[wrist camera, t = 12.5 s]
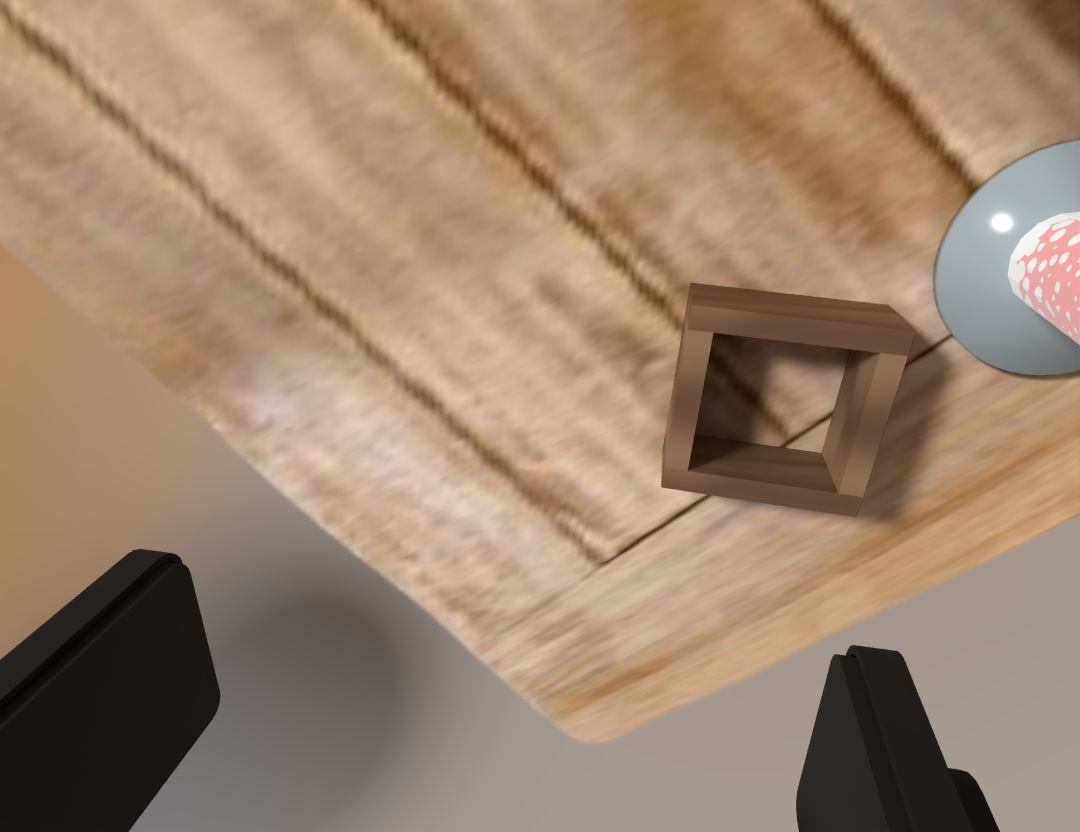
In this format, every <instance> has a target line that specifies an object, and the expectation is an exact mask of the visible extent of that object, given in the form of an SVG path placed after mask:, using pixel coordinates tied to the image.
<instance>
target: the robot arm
mask: <svg viewBox="0 0 1080 832" xmlns="http://www.w3.org/2000/svg"><path fill="white" fill-rule="evenodd" d="M219 703H220V690H219V686H218V682H217V678H216V674H215V670H214V666H213V662H212V658H211V654H210V650H209V646H208V642H207V638H206V633H205V629H204V625H203V621H202V617H201V613H200V609H199V605H198V601H197V597H196V593H195V589H194V585H193V581H192V577H191V574H190V571H189V568H188V567H187V566H186V565H183V563H182V560H181V558H180V557H178V555H176V554H173V553H166V552H159V551H152V550H144V549H138V550H133V551H132V552H130V553H129V554H127V555H126V556H125V557H123V558H122V559H121V560H120V561H119V562H118V563H116V564H115V565H114V566H113V567H111V568H110V569H109V570H108V571H107V572H105V573H104V574H103V575H102V576H101V577H99V578H98V579H97V580H96V581H95V582H93V583H92V584H91V585H90V586H89V587H87V588H86V589H85V590H84V591H83V592H81V593H80V594H79V595H78V596H77V597H75V598H74V599H73V600H72V601H71V602H69V603H68V604H67V605H66V606H64V607H63V608H62V609H61V610H60V611H58V613H56V614H55V615H54V616H53V617H51V618H50V619H49V620H48V621H46V622H45V623H44V624H43V625H42V626H40V627H39V628H38V629H37V630H36V631H34V632H33V633H32V634H31V635H30V636H29V637H27V638H26V639H25V640H24V641H22V643H20V644H19V645H18V646H16V647H15V648H14V649H13V650H12V651H11V652H9V653H8V654H7V655H6V656H4V657H3V658H2V659H1V660H0V832H129V830H130V829H131V827H132V826H133V825H134V824H135V822H136V821H137V820H138V818H139V817H140V816H141V814H142V813H143V812H144V810H145V809H146V808H147V806H148V805H149V803H150V802H151V801H152V799H153V798H154V797H155V795H156V794H157V793H158V791H159V790H160V789H161V787H162V786H163V785H164V783H165V782H166V781H167V779H168V778H169V777H170V775H171V774H172V773H173V771H174V770H175V769H176V767H177V766H178V765H179V763H180V762H181V761H182V759H183V758H184V757H185V755H186V754H187V752H188V751H189V750H190V749H191V747H192V746H193V744H194V743H195V742H196V741H197V739H198V738H199V737H200V735H201V734H202V732H203V731H204V730H205V728H206V727H207V726H208V724H209V723H210V722H211V721H212V719H213V717H214V716H215V714H216V712H217V709H218V706H219ZM796 812H797V822H798V828H799V832H1000V831H999V829H998V826H997V824H996V822H995V820H994V817H993V815H992V813H991V811H990V808H989V806H988V804H987V801H986V799H985V797H984V794H983V792H982V791H981V789H980V787H979V785H978V783H977V782H976V780H975V779H974V778H973V777H972V776H971V775H970V774H969V773H968V772H966V771H962V770H957V769H951V768H948V767H947V765H946V762H945V760H944V757H943V755H942V752H941V750H940V747H939V745H938V742H937V740H936V737H935V735H934V732H933V730H932V727H931V725H930V723H929V720H928V717H927V715H926V712H925V710H924V707H923V705H922V702H921V700H920V697H919V695H918V692H917V690H916V687H915V685H914V682H913V680H912V678H911V675H910V672H909V670H908V667H907V665H906V662H905V660H904V658H903V657H902V655H901V654H900V653H899V652H898V651H892V650H886V649H877V648H870V647H863V646H856V645H853V646H850V647H849V649H848V651H847V653H846V656H845V655H837V654H835V655H834V656H833V657H832V660H831V663H830V667H829V671H828V674H827V678H826V683H825V686H824V690H823V694H822V698H821V701H820V705H819V709H818V713H817V717H816V721H815V725H814V728H813V732H812V736H811V740H810V744H809V748H808V751H807V755H806V759H805V763H804V767H803V771H802V775H801V779H800V782H799V786H798V791H797V800H796Z"/></svg>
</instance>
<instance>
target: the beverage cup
mask: <svg viewBox="0 0 1080 832" xmlns="http://www.w3.org/2000/svg"><path fill="white" fill-rule="evenodd" d="M1008 278H1009V281H1010V284H1011V287H1012V290H1013V292H1014V293H1015V294H1016V295H1017V296H1018V297H1019V298H1020V299H1021V300H1022V301H1023V302H1024V303H1025V304H1027V305H1028V306H1029V307H1030V308H1032V309H1033V310H1034V311H1036V312H1037V313H1038V314H1040V315H1041V316H1042V317H1044V318H1045V319H1046V320H1048V321H1049V322H1050V323H1051V324H1053V325H1054V326H1055V327H1057V328H1058V329H1059V330H1061V331H1062V332H1063V333H1065V334H1066V335H1067V336H1068V337H1070V338H1071V339H1072V340H1074V341H1075V342H1076V343H1078V344H1079V345H1080V212H1075V213H1064V214H1059V215H1057V216H1054V217H1052V218H1050V219H1048V220H1045V221H1043V222H1041V223H1039V224H1038V225H1036V226H1035V227H1034V228H1033V229H1032V230H1031V231H1029V232H1028V233H1027V234H1026V235H1025V236H1024V237H1023V238H1021V240H1020V242H1019V243H1018V245H1017V247H1016V248H1015V250H1014V252H1013V254H1012V255H1011V257H1010V264H1009V271H1008Z"/></svg>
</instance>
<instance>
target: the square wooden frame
mask: <svg viewBox="0 0 1080 832" xmlns="http://www.w3.org/2000/svg"><path fill="white" fill-rule="evenodd" d="M915 332H916V331H915V330H914V329H913V328H912V327H911V326H910V325H908V324H907V323H906V322H905V321H904V320H903V319H902V318H901V317H900V316H899V315H898V314H897V313H896V312H895V311H894V310H893V309H892V308H891V307H890V306H889V305H882V304H873V303H864V302H855V301H847V300H838V299H829V298H820V297H811V296H802V295H793V294H785V293H776V292H767V291H758V290H749V289H740V288H731V287H722V286H714V285H705V284H696V283H690V289H689V295H688V301H687V307H686V313H685V319H684V325H683V331H682V337H681V343H680V349H679V355H678V361H677V367H676V373H675V379H674V385H673V391H672V397H671V403H670V409H669V415H668V421H667V427H666V433H665V439H664V445H663V457H662V481H661V487H663V488H669V489H676V490H682V491H689V492H695V493H702V494H708V495H715V496H722V497H728V498H735V499H741V500H748V501H754V502H761V503H767V504H774V505H780V506H787V507H794V508H800V509H807V510H813V511H820V512H826V513H833V514H839V515H846V516H852V517H857V515H858V511H859V508H860V505H861V502H862V499H863V496H864V493H865V489H866V486H867V483H868V480H869V477H870V474H871V471H872V467H873V464H874V461H875V458H876V455H877V452H878V448H879V445H880V442H881V439H882V436H883V433H884V430H885V426H886V423H887V420H888V417H889V414H890V411H891V408H892V404H893V401H894V398H895V395H896V392H897V389H898V386H899V382H900V379H901V376H902V373H903V370H904V367H905V363H906V360H907V357H908V354H909V351H910V348H911V345H912V341H913V338H914V335H915ZM713 333H721V334H729V335H737V336H745V337H753V338H762V339H770V340H778V341H786V342H794V343H803V344H811V345H819V346H827V347H835V348H844V349H851V350H850V354H849V357H848V361H847V365H846V368H845V372H844V375H843V379H842V383H841V386H840V390H839V393H838V397H837V400H836V404H835V408H834V411H833V415H832V418H831V422H830V426H829V429H828V433H827V436H826V440H825V444H824V447H823V451H822V453H816V452H809V451H802V450H795V449H788V448H781V447H774V446H767V445H760V444H753V443H746V442H739V441H732V440H725V439H718V438H711V437H704V436H696V435H694V434H695V429H696V423H697V418H698V413H699V407H700V402H701V397H702V391H703V386H704V381H705V375H706V370H707V365H708V359H709V354H710V349H711V343H712V338H713Z"/></svg>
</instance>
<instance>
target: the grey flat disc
mask: <svg viewBox="0 0 1080 832" xmlns="http://www.w3.org/2000/svg"><path fill="white" fill-rule="evenodd" d="M1075 212H1080V139H1077V140H1070V141H1065V142H1061V143H1056V144H1052V145H1050V146H1047V147H1044V148H1041V149H1038V150H1035V151H1033V152H1031V153H1029V154H1027V155H1025V156H1022V157H1020V158H1018V159H1016V160H1015V161H1013V162H1011V163H1010V164H1008V165H1007V166H1005V167H1003V168H1002V169H1000V170H999V171H998V172H996V173H995V174H994V175H992V176H991V177H990V178H988V179H987V180H986V181H985V182H984V183H983V184H981V185H980V186H979V187H978V188H977V189H976V190H975V191H974V192H973V193H972V194H971V195H970V196H969V198H968V199H967V200H966V201H965V202H964V203H963V204H962V206H961V207H960V208H959V210H958V211H957V213H956V214H955V216H954V217H953V219H952V220H951V222H950V224H949V226H948V228H947V229H946V231H945V233H944V235H943V238H942V240H941V243H940V246H939V248H938V252H937V256H936V260H935V264H934V273H933V291H934V297H935V302H936V306H937V309H938V312H939V314H940V317H941V319H942V321H943V323H944V324H945V326H946V328H947V330H948V331H949V332H950V333H951V335H952V336H953V337H954V338H955V340H957V341H958V342H959V343H960V344H961V345H962V346H963V347H964V348H965V349H967V350H968V351H969V352H970V353H971V354H973V355H974V356H976V357H977V358H979V359H980V360H982V361H984V362H986V363H988V364H990V365H992V366H994V367H997V368H1000V369H1003V370H1007V371H1010V372H1015V373H1021V374H1029V375H1056V374H1063V373H1070V372H1075V371H1079V370H1080V345H1079V344H1078V343H1076V342H1075V341H1074V340H1072V339H1071V338H1070V337H1068V336H1067V335H1066V334H1065V333H1063V332H1062V331H1061V330H1059V329H1058V328H1057V327H1055V326H1054V325H1053V324H1051V323H1050V322H1049V321H1048V320H1046V319H1045V318H1044V317H1042V316H1041V315H1040V314H1038V313H1037V312H1036V311H1034V310H1033V309H1032V308H1030V307H1029V306H1028V305H1027V304H1025V303H1024V302H1023V301H1022V300H1021V299H1020V298H1019V297H1018V296H1017V295H1016V294H1015V293H1014V292H1013V290H1012V287H1011V284H1010V281H1009V278H1008V271H1009V264H1010V257H1011V255H1012V254H1013V252H1014V250H1015V248H1016V247H1017V245H1018V243H1019V242H1020V240H1021V238H1023V237H1024V236H1025V235H1026V234H1027V233H1028V232H1029V231H1031V230H1032V229H1033V228H1034V227H1035V226H1036V225H1038V224H1039V223H1041V222H1043V221H1045V220H1048V219H1050V218H1052V217H1054V216H1057V215H1059V214H1064V213H1075Z"/></svg>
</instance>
